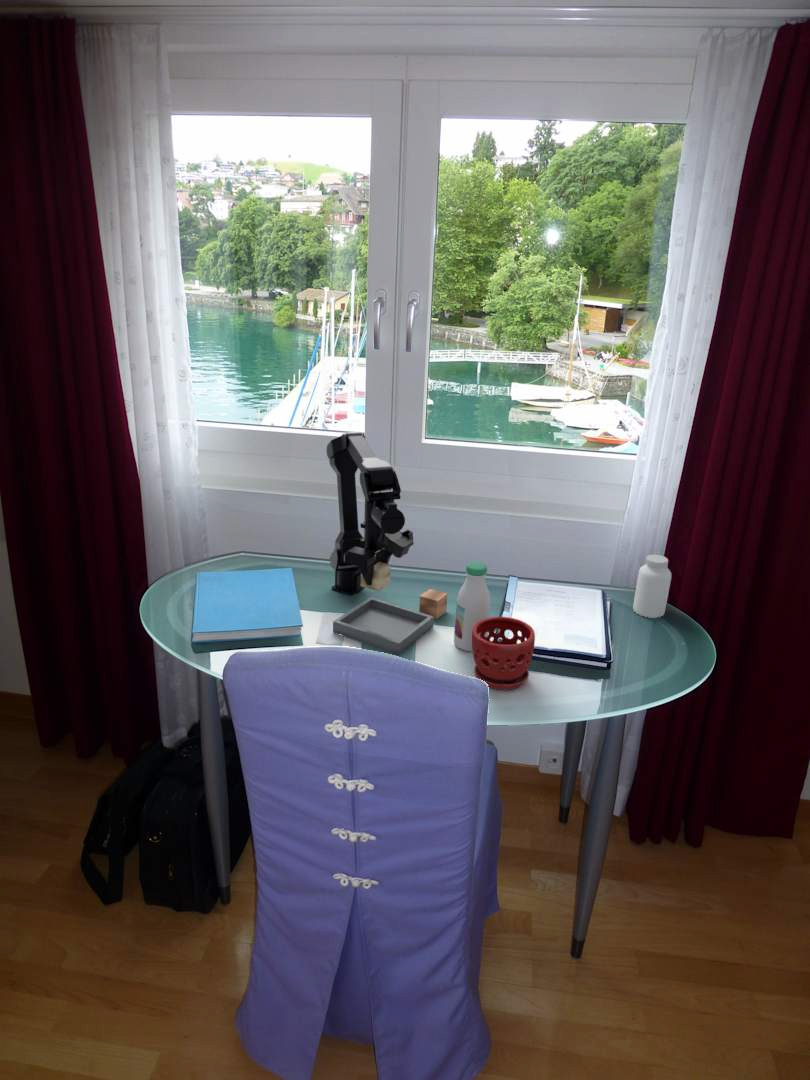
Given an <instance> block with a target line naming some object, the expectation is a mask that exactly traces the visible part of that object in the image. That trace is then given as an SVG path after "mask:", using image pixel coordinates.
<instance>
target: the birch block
mask: <svg viewBox="0 0 810 1080" xmlns="http://www.w3.org/2000/svg"><path fill="white" fill-rule="evenodd" d="M390 584H391V563H390V564H389V563H388V564H386V563H382V562H379V563H377V564H376V565H375V566H374V572H373V580H372V584H371V585H367V584H366V582H365V580H364V578H363V576H362V574H361V587H363V588H364V589H365V588H366V589H368V590H373V591H376V592H380V591H381V590H382V591H383V589H385V588H386V587H388V586H390Z"/></svg>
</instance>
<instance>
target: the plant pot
mask: <svg viewBox="0 0 810 1080" xmlns="http://www.w3.org/2000/svg"><path fill="white" fill-rule="evenodd" d="M496 629H498V630H499V632H495V630H496ZM507 630H508V631H510V632H512V634H513V635H512V638H508V637H507V636H506V635H505V633H506V631H507ZM486 632H488V636H487V637H485V636H484V635H485V633H486ZM518 632H520V633H521V636H520V635H519V634H518ZM479 633H480V636H479ZM535 636H536V634H535V630H534V628H533V627H532V626H531V625H530V624H529V623H527V622H525V621H523V620H520V619H517V618H513V617H509V616H508V617H507V616H493V617H489V618H487V619H484V620H481V621H479V622H477V623H476V624H475V625H474V627H473V630H472V650H473V652H472V656H473V660H474V663H475V667H474V675H475V676H476V679H478V678H479V679H481V680H483V681H485V682H486V683H487V684H488V685H489V687H488V688H490V689H491V688H492V689H495V688H496V690H502V689H507V690H513V689H517V688H519V687H521V686H523V685H524V684H525V683H526V682H527V681H528V679H529V677H530V673H529V669H528V668H529V666H530V664H531V662H532V660H533V659H532V658H533V654H534V650H535V642H536V639H535ZM491 638H493V640H491ZM499 638H500V639H502V640H501V641H499ZM518 641H519V643H518Z"/></svg>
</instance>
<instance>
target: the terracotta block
mask: <svg viewBox="0 0 810 1080" xmlns="http://www.w3.org/2000/svg"><path fill="white" fill-rule="evenodd" d="M447 607H448V593H445V592H443V591H439V590H436V589H431V588H428V589H427V590H426V591H424V592H423V593H421V595H419V606H418V610H419V611H418V612H421V613H424V614H427V615H430V616H434V619H436V620H438V619H439V618H441V616H443V615H444V614H445V613H446V612H447V609H448V608H447Z"/></svg>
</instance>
